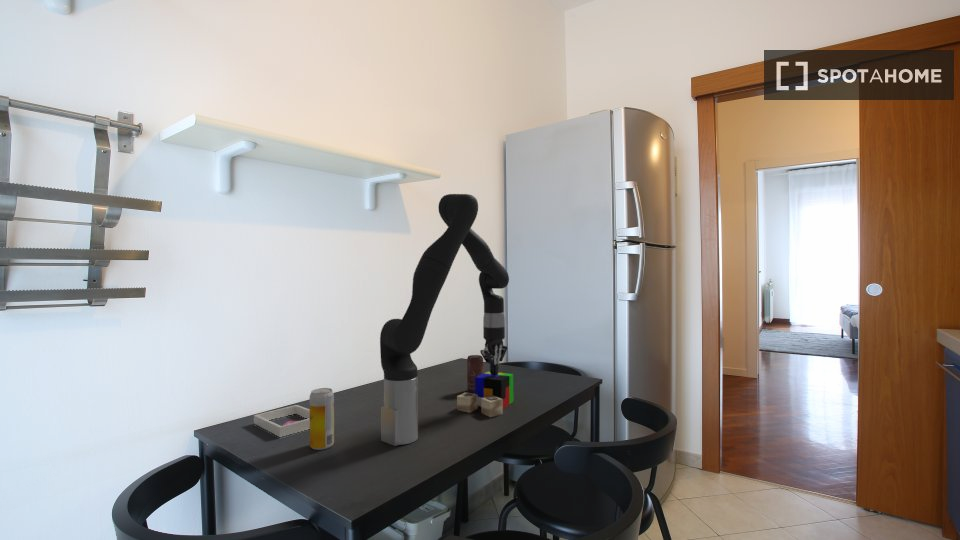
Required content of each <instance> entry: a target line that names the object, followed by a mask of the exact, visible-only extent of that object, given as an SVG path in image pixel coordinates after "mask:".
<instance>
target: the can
mask: <svg viewBox="0 0 960 540" xmlns="http://www.w3.org/2000/svg"><path fill="white" fill-rule="evenodd" d="M481 374H484V358H483V356H482V355H481V354H479V355H478V354H471V355H468V356H467V359H466V380H467V381H466V383H467V384H466V385H467V387H466V391H467V393H471V394H475V377H477V376H479V375H481Z"/></svg>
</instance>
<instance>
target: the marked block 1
mask: <svg viewBox="0 0 960 540" xmlns="http://www.w3.org/2000/svg"><path fill="white" fill-rule="evenodd" d="M478 407H479V406H478V395H477V394H473V393H469V392H463V393H461V394H459V395H457V396H456V410H457V411H458V412H459V411H460V412H465V413H472V412H474V411H476V410H478V409H479V408H478Z"/></svg>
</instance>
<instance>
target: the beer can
mask: <svg viewBox="0 0 960 540" xmlns="http://www.w3.org/2000/svg"><path fill="white" fill-rule="evenodd" d="M334 393H335V392H333V389H332V388H329V387H322V388H317V389H316V388H315V389H312V390H311V392H310V394H309V409H310V430H309V447H310V448H311V449H312V450H314V451H324V450H327V449H329V448H331V447H332V446H333V445H334V444H335V395H334Z"/></svg>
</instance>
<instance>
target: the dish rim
mask: <svg viewBox="0 0 960 540" xmlns="http://www.w3.org/2000/svg"><path fill="white" fill-rule="evenodd" d="M293 414H298V415H300V416H299V417H301V416H302V417H301V418H303V417H304V418H303V419H302V420H297V421H298V422H294V423H290V424H287V425H283V424H282V425H283V426H282V425H280V424H277V423H276V422H275V421H269V420H271V419H275V418H280V417H284V416H288V415H292V416H294V415H293ZM298 415H297V416H298ZM288 417H289V416H288ZM284 418H285V417H284ZM305 418H307V419H305ZM254 423H255V424H257V425H259V426H261V427H262V428H264V429H266V430H268V431H270V432H272V433H274V434H275V435H277V436H279V437H282V436H286V435H289V434H293V433H297V432H300V433H302V432H301V431H303V432H305V431H304V430H307V431H309V430H308V429H310V408H307V407H304V406H301V405H298V404H294V405H290V406H287V407H282V408H278V409H274V410H271V411H266V412H262V413H257V414H254V415H253V424H254ZM297 434H298V433H297ZM293 435H294V434H293Z"/></svg>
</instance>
